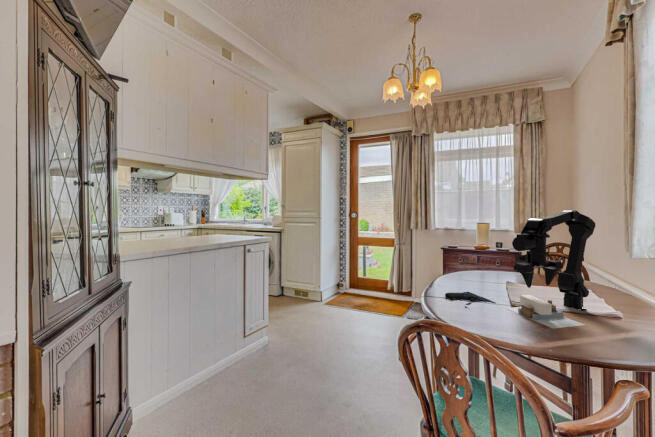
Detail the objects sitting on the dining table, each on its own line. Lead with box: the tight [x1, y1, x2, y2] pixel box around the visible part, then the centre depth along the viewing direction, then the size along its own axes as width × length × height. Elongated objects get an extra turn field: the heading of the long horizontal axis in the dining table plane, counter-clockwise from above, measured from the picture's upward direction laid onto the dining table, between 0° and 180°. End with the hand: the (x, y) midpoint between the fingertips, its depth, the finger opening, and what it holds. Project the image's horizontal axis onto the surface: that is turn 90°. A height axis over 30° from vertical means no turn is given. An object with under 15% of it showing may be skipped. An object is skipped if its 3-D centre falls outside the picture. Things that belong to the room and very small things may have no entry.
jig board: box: [505, 306, 585, 330], centre depth 118 cm, size 14×22×3 cm, turn 10°
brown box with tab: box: [520, 299, 557, 319], centre depth 119 cm, size 12×4×6 cm, turn 100°
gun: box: [445, 291, 497, 310], centre depth 139 cm, size 24×3×15 cm
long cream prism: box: [519, 294, 553, 315], centre depth 118 cm, size 4×12×4 cm, turn 1°
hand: (538, 286), depth 123 cm, fingers open, 9 cm apart
